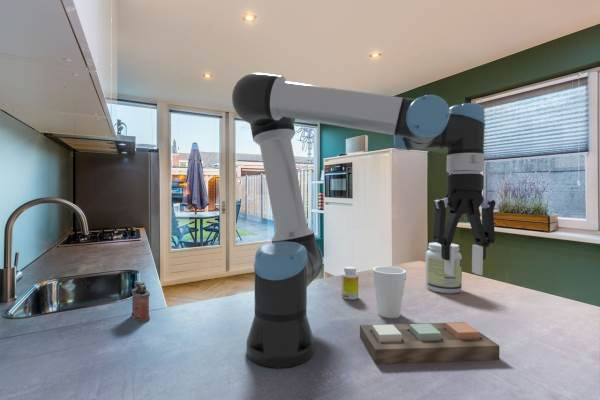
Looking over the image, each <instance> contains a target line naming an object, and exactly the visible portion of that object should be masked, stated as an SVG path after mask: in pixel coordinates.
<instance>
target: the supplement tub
mask: <svg viewBox="0 0 600 400" xmlns="http://www.w3.org/2000/svg"><path fill="white" fill-rule="evenodd" d="M451 246H453V247H454V276H451V275H448V274H446V273H444V261H445V260H444V259H442V257H441V253H442V252H441V244H439V243H437V242H434V241H433V242H429V243H428V250H426V252H425V286H426V288H427V290H429V291H432V292H435V293H441V294H446V295H447V294H449V295H450V294H458V293H460V292H461V291H462V277H463V275H462V272H463V271H462V270H463V267H462V266H463V263H462V262H463V260H462V259H463V257H462V254H461V252H459V251H461V250H460V245H459V244H456V243H451Z"/></svg>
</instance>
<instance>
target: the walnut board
mask: <svg viewBox="0 0 600 400" xmlns="http://www.w3.org/2000/svg"><path fill="white" fill-rule="evenodd" d="M446 323H447V322H424V323H423V322H422V323H421V322H420V323H419V322H417V323H415V324H431V325H432V326H433V327H434V328H436V329H437V330H438V331H439V332H440V333H441V340H440V341H417V340H416V338H415V337H414V336H413V335H412V334H411V333H410V332H409V325H410V324H411V323H387V324H384V323H383V324H381V323H380V324H379V323H378V324H374V325H394V326H395V327H396V328H397V330H398V331H399V332H400V333H401V334H402V342H378V341H377V340H376V338H375V337H374V335H373V334H372V325H373V324H359V338H360V340H361V342H362V344H363V346H364V347H365V349H366V351H367V352H368V354H369V355H370V357H371V359H372V361H373V362H374V364H375V365H381V364H382V365H383V364H411V363H412V364H414V363H437V362H438V363H440V362H441V363H442V362H468V361H469V362H471V361H496V360H497V361H498V360H500V345H499V344H498V343H496V342H494V341H493V340H492V339H490V338H489V337H487V336H486V335H485V334H483V333H481V332H480V339H474V340H457V339H456V338H454V337H453V336H452V335H451V334H449V333H448V332H447V331H446ZM456 323H466V322H457V321H456Z"/></svg>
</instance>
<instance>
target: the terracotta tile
mask: <svg viewBox="0 0 600 400" xmlns="http://www.w3.org/2000/svg"><path fill="white" fill-rule="evenodd" d="M445 323H446V331H447V332H448V333H449V334H451V335H452V336H453V337H454V338H456V339H457V340H474V339H480V333H481V332H480V331H479V330H478V329H476V328H475V327H474V326H472V325H470V324H469V323H468V322H465V323H457V322H445Z"/></svg>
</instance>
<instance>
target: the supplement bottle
mask: <svg viewBox="0 0 600 400" xmlns="http://www.w3.org/2000/svg"><path fill="white" fill-rule="evenodd" d="M343 269H344V270H343V272H342V273H341V297H342V298H343V299H345V300H356V299H358V297H359V273H357V268H356V266H351V265H350V266H349V265H348V266H344V268H343Z"/></svg>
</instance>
